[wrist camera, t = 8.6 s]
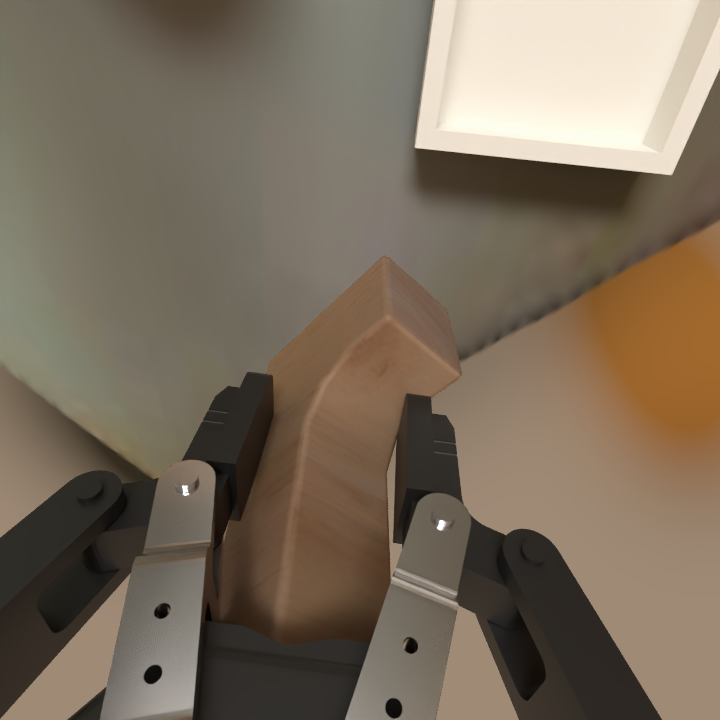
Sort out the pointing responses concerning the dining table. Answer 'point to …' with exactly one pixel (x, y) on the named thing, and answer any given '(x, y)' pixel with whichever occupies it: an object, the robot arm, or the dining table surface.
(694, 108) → the tray
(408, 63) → the dining table surface
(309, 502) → the wooden block
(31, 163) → the dining table surface
